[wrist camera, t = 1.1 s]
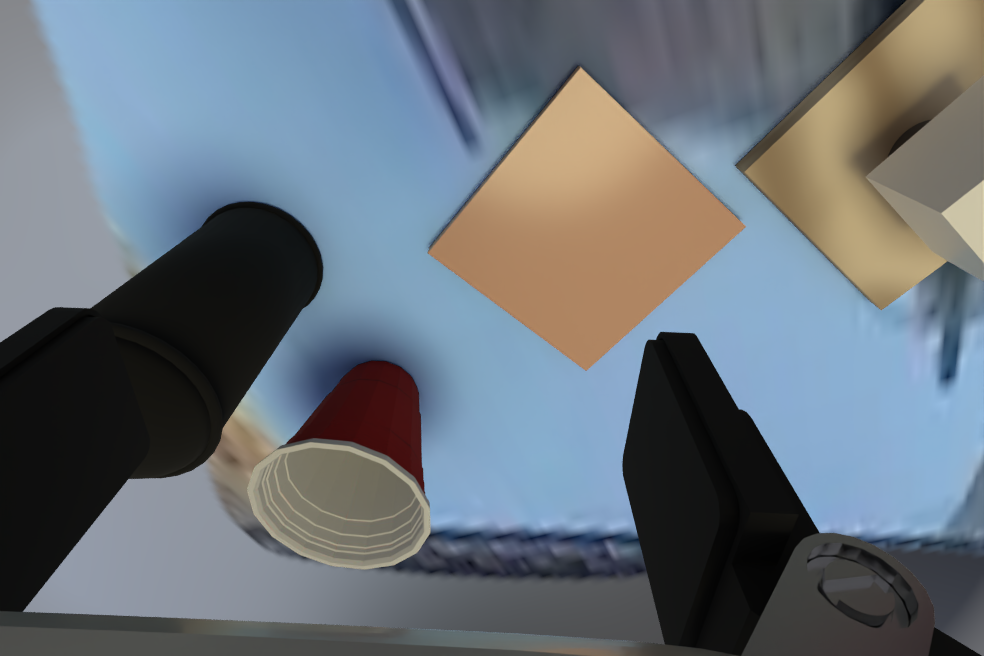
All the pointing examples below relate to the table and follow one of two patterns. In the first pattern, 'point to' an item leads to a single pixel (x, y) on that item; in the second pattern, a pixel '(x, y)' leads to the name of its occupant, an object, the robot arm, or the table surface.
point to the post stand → (870, 142)
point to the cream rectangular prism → (943, 182)
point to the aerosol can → (209, 326)
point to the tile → (584, 225)
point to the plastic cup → (350, 475)
